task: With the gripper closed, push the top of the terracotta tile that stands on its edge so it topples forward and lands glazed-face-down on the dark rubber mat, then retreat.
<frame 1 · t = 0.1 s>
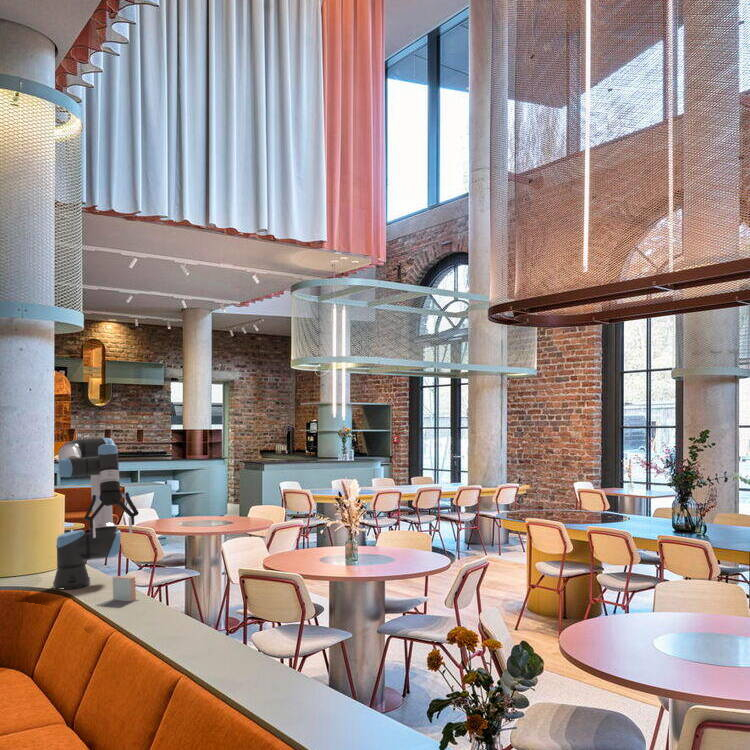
hand: (112, 535, 309), 28 cm above the ledge, fingers open, 13 cm apart
mat: (117, 604, 312), on the ledge
tile: (124, 600, 316), point 1 cm above the ledge, touching mat
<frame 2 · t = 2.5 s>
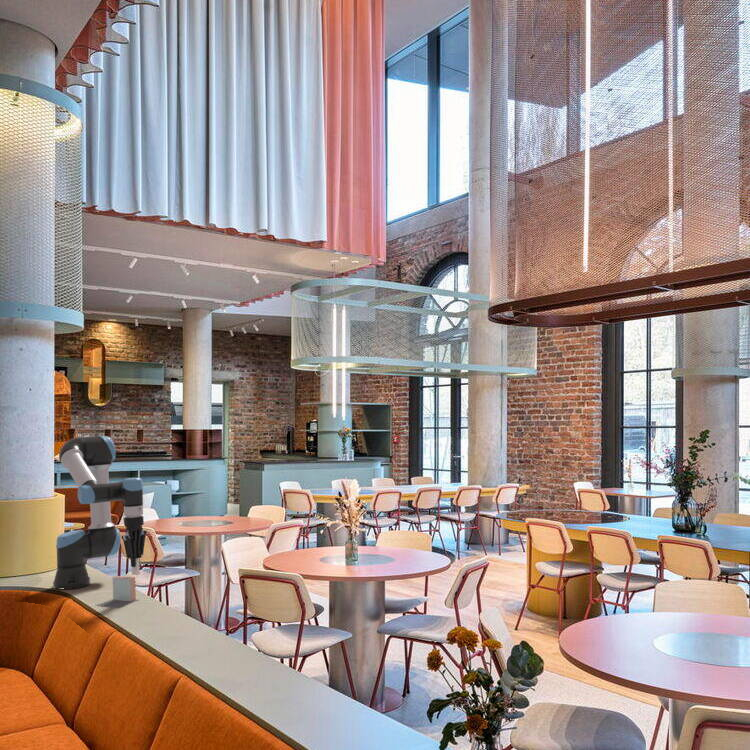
hand: (135, 574, 322), 9 cm above the ledge, fingers closed
nothing on the ledge moved.
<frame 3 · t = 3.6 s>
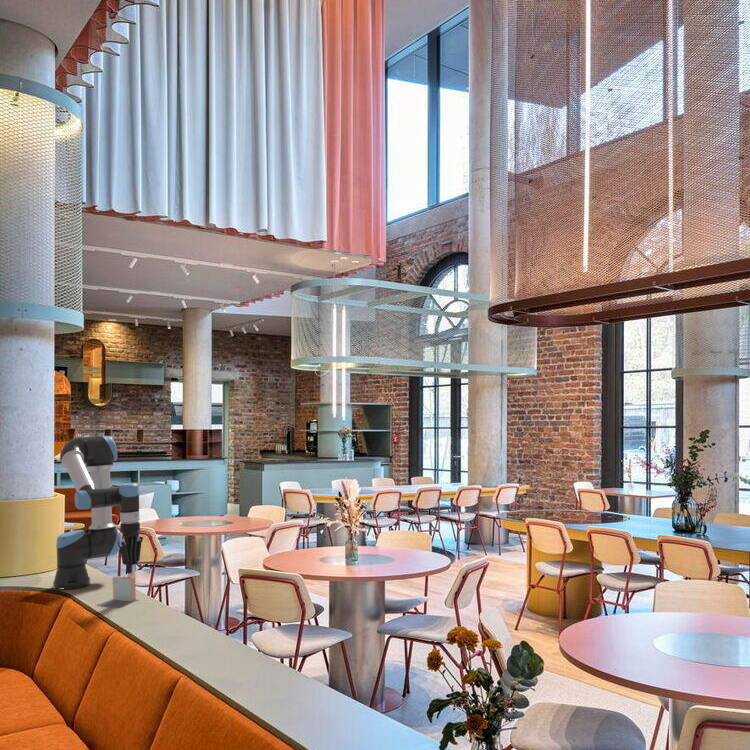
hand: (131, 580, 320), 7 cm above the ledge, fingers closed
nothing on the ledge moved.
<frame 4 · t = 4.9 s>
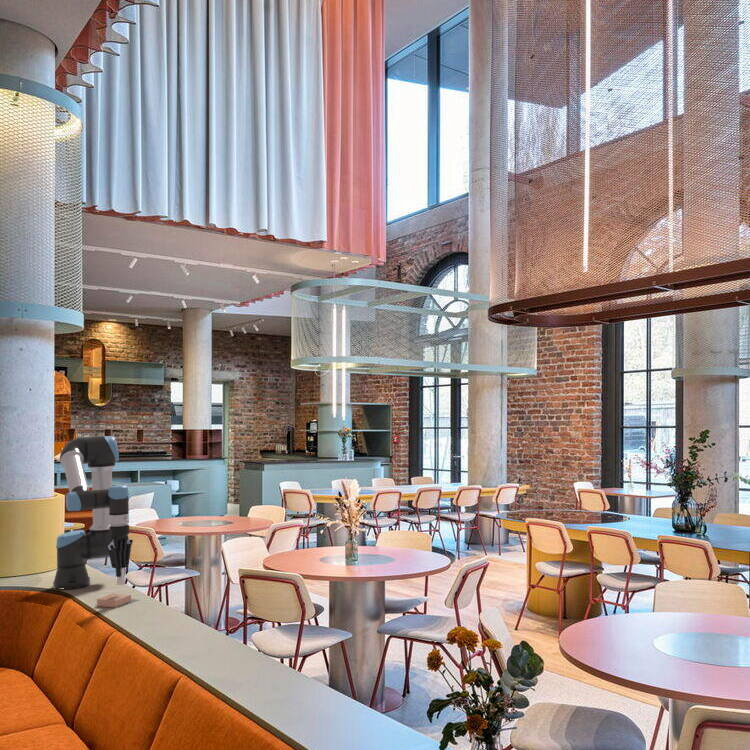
hand: (121, 584, 314), 7 cm above the ledge, fingers closed
tile: (121, 597, 314), point 2 cm above the ledge, tilted 90°, touching mat
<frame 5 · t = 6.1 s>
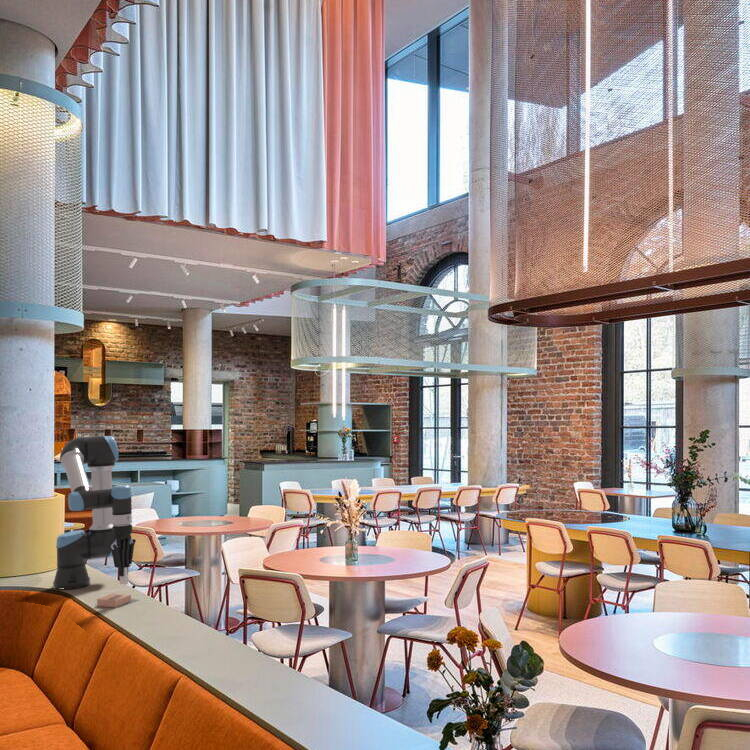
hand: (123, 583, 316), 7 cm above the ledge, fingers closed
nothing on the ledge moved.
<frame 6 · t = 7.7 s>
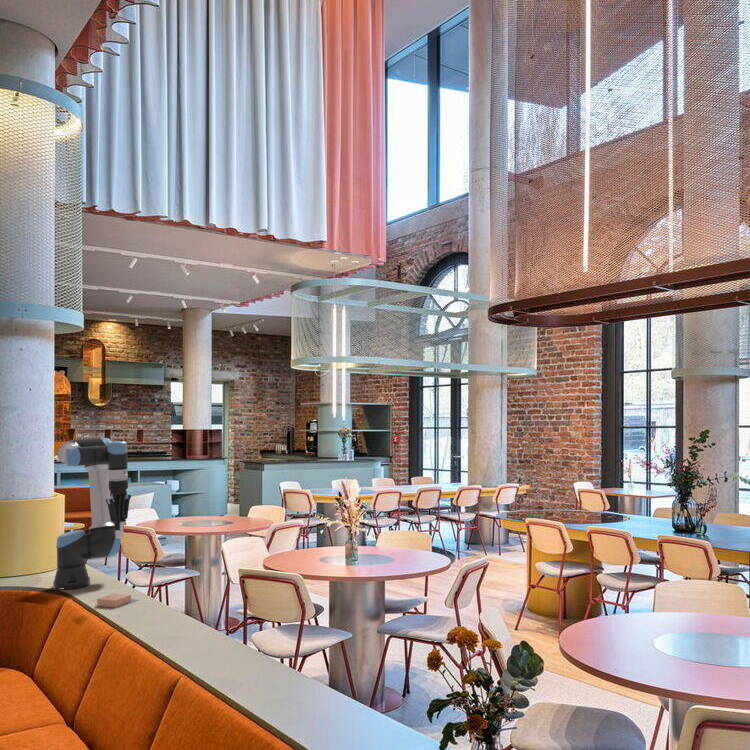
hand: (119, 537, 321), 25 cm above the ledge, fingers closed
nothing on the ledge moved.
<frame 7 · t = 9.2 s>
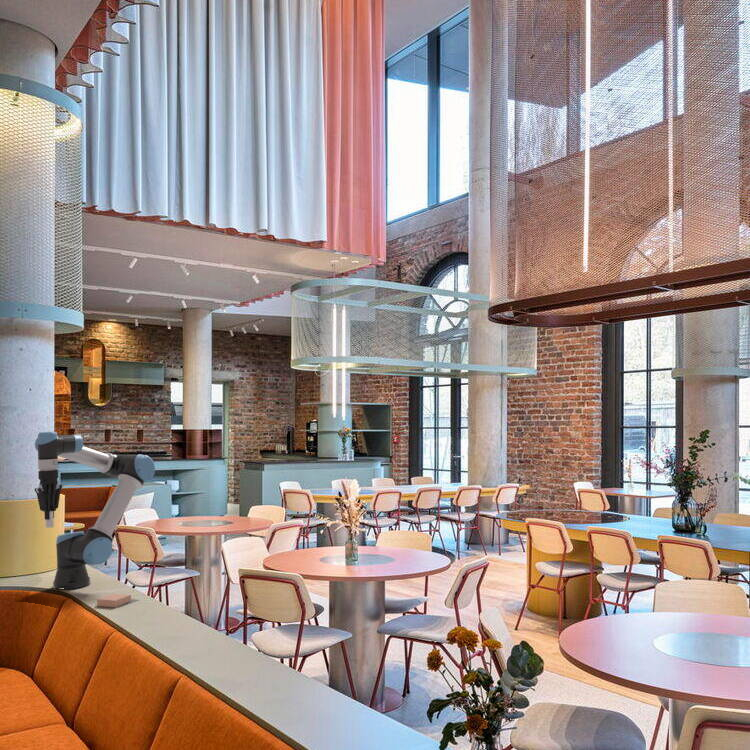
hand: (49, 527, 324), 29 cm above the ledge, fingers closed
nothing on the ledge moved.
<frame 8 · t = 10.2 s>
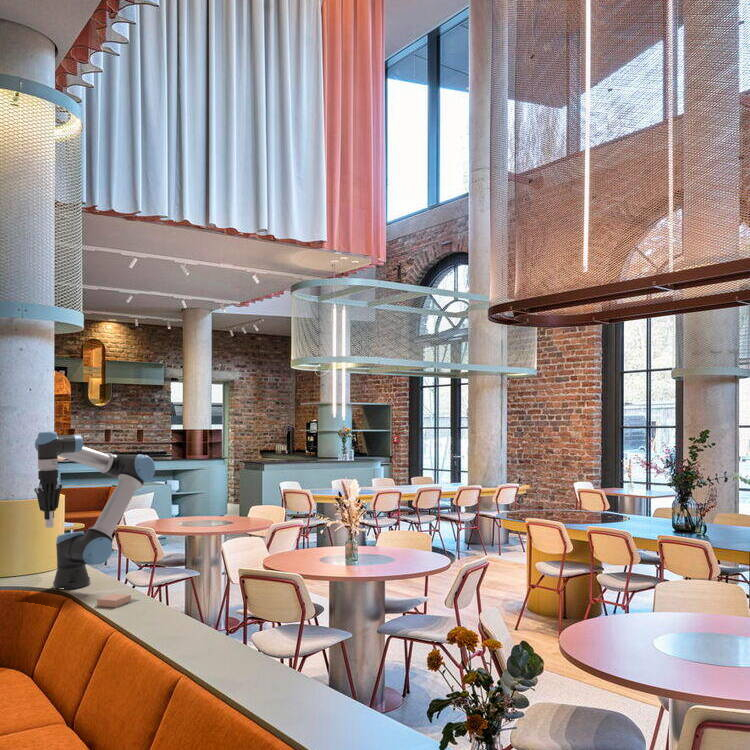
hand: (49, 527, 324), 29 cm above the ledge, fingers closed
nothing on the ledge moved.
at the end: tile tilted 90°; tile inside the target area on the mat (3.1 cm from its centre), point 2.0 cm above the mat's base; tile point 2.0 cm above the ledge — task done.
